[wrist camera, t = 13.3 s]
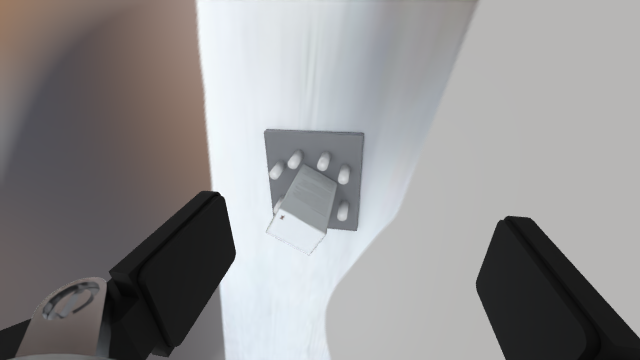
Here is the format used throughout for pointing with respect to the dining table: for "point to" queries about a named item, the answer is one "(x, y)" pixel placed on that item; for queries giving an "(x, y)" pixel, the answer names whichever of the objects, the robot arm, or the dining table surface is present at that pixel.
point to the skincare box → (304, 211)
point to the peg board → (318, 167)
